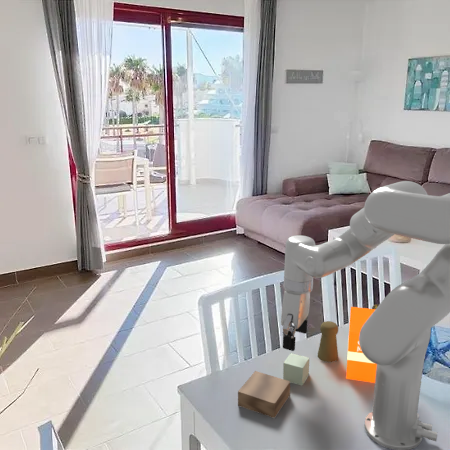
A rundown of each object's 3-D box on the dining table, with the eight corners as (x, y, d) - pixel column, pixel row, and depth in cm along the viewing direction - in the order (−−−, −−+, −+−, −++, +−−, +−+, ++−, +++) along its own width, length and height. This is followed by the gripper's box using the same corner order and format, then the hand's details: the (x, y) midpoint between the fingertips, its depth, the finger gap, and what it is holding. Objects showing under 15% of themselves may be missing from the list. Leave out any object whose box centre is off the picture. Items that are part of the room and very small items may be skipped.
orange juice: (346, 363, 134) (350, 300, 128) (378, 367, 131) (384, 304, 126) (345, 379, 126) (350, 313, 121) (379, 384, 124) (385, 317, 118)
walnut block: (289, 396, 120) (290, 381, 119) (274, 419, 112) (274, 403, 111) (255, 385, 125) (255, 370, 124) (238, 406, 117) (237, 391, 115)
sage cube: (308, 375, 129) (309, 357, 127) (302, 385, 124) (302, 368, 122) (290, 369, 131) (290, 352, 130) (283, 380, 126) (283, 362, 125)
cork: (336, 351, 140) (338, 318, 137) (339, 362, 134) (341, 328, 131) (316, 350, 140) (318, 318, 137) (318, 361, 135) (320, 328, 131)
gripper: (295, 268, 129) (292, 323, 134) (272, 292, 114) (269, 352, 119) (321, 273, 125) (317, 329, 131) (301, 299, 111) (297, 360, 116)
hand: (294, 340), depth 125 cm, fingers open, 9 cm apart
